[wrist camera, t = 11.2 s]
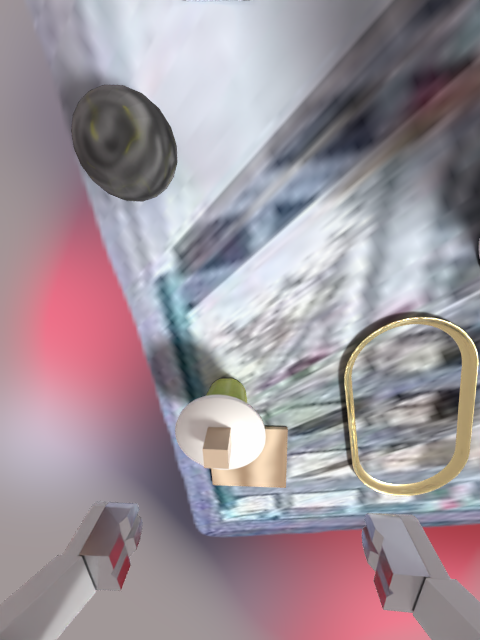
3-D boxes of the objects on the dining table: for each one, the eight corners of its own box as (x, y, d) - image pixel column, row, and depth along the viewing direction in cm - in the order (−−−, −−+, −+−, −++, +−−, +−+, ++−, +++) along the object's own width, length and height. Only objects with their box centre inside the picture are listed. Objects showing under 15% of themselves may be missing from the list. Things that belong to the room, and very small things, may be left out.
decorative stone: (193, 121, 29) (162, 72, 20) (182, 212, 33) (152, 206, 24) (109, 102, 29) (39, 44, 20) (107, 196, 33) (47, 183, 24)
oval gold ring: (353, 491, 49) (356, 500, 47) (335, 326, 37) (339, 330, 36) (459, 482, 46) (465, 491, 45) (475, 302, 35) (484, 305, 33)
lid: (265, 395, 32) (266, 420, 28) (265, 466, 36) (265, 496, 32) (172, 393, 32) (159, 417, 28) (182, 463, 37) (172, 492, 33)
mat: (287, 427, 44) (287, 429, 43) (285, 484, 49) (285, 487, 48) (207, 425, 45) (206, 428, 44) (213, 482, 50) (213, 484, 49)
